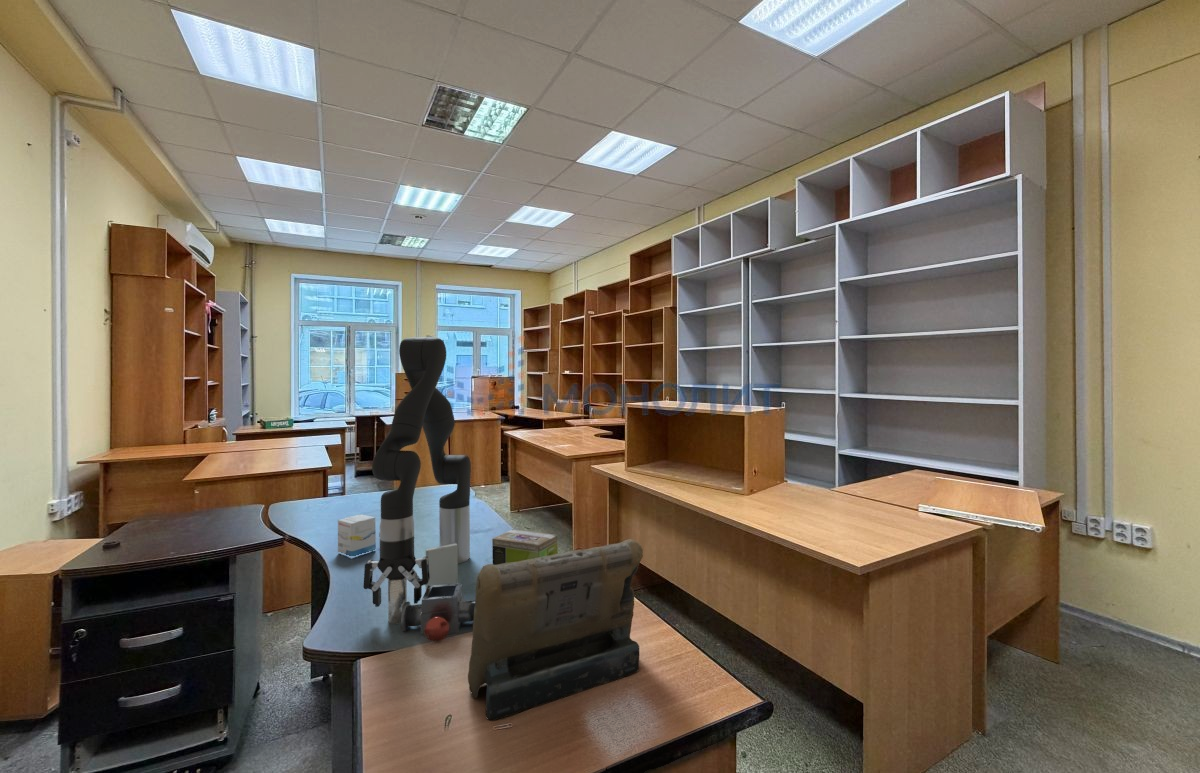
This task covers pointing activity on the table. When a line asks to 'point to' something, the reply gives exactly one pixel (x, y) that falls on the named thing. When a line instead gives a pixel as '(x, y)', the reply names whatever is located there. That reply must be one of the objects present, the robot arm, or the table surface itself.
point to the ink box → (356, 535)
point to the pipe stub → (396, 599)
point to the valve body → (438, 612)
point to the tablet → (553, 626)
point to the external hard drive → (443, 565)
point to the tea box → (522, 546)
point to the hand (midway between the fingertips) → (397, 603)
